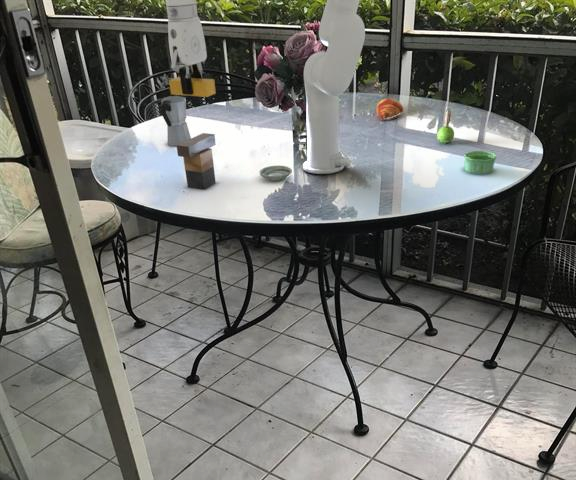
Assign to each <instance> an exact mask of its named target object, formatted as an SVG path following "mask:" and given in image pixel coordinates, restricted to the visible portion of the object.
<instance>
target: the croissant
mask: <svg viewBox="0 0 576 480" xmlns="http://www.w3.org/2000/svg"><path fill="white" fill-rule="evenodd" d="M375 112H376V116H377V115H378V116H377V118H378V117H379V118H381V119H379V118H378V119H379V120H380V121H392V120H394V119H396V118H398V117H399V116H400V115H398V116H396V117H393V118H390V119H384V118H387V117H392V116H394V115H397V114H399V113H401V112H402V113H403V112H404V107H403V104H402V103H401V102H400V101H399V100H396V99H394V98H391V97H388V98H384V99H381V100H379V101H378V103H377V105H376V108H375ZM402 113H401V114H402ZM382 119H383V120H382Z"/></svg>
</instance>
